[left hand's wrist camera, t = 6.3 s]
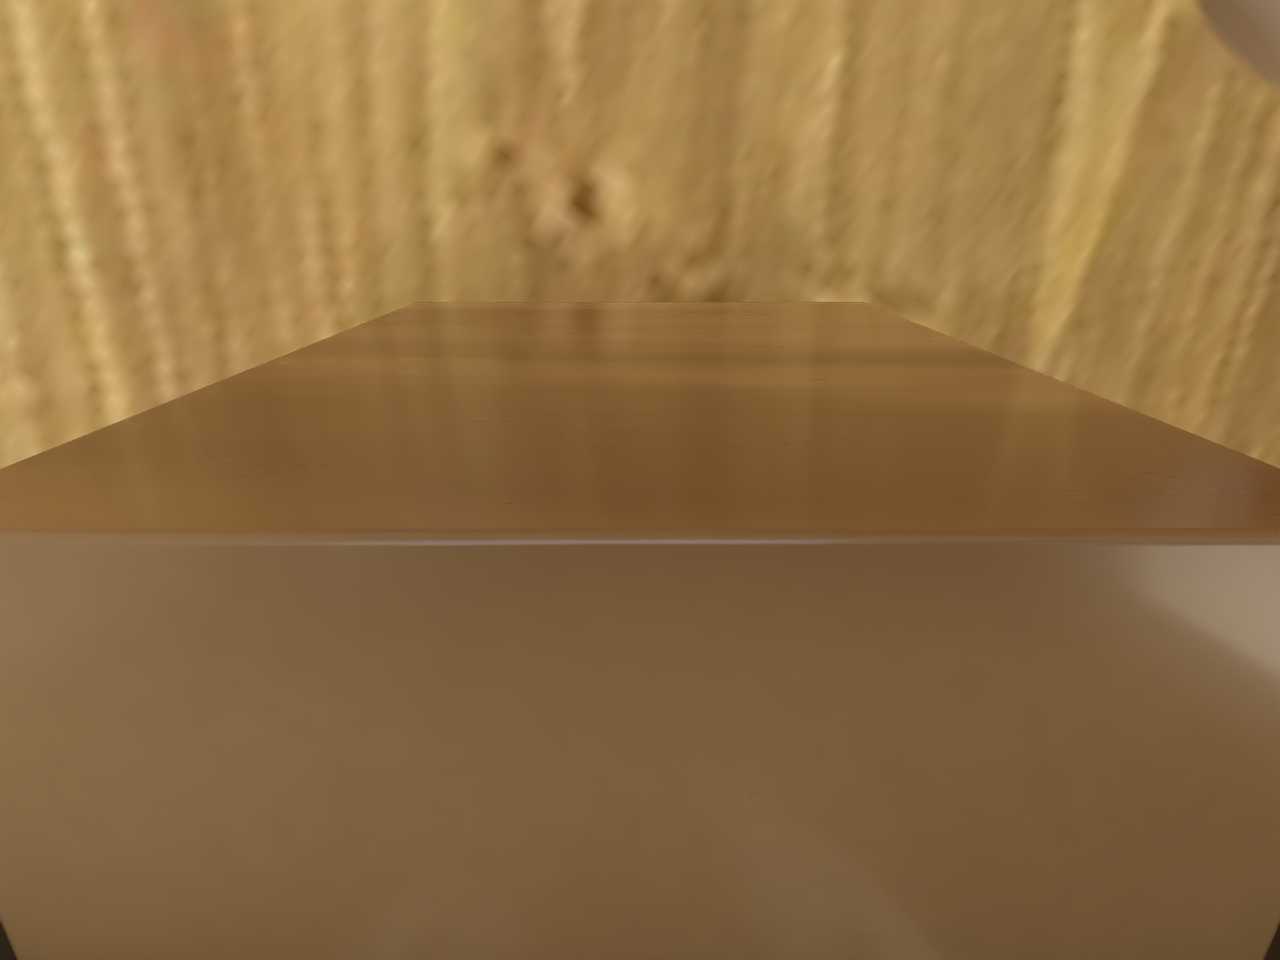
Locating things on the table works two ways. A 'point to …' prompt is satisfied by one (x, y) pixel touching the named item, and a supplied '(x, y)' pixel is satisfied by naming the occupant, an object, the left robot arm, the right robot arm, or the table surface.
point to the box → (640, 655)
